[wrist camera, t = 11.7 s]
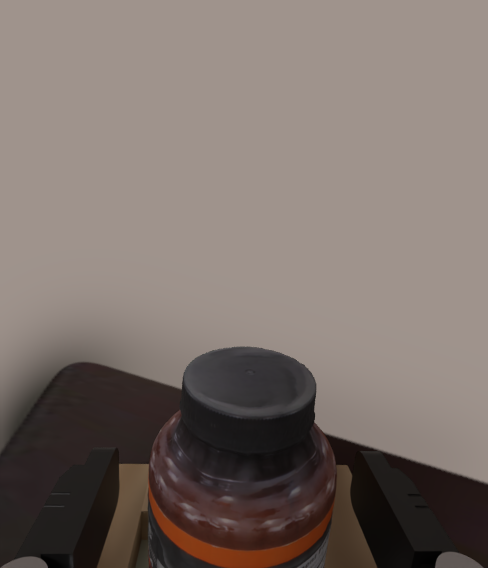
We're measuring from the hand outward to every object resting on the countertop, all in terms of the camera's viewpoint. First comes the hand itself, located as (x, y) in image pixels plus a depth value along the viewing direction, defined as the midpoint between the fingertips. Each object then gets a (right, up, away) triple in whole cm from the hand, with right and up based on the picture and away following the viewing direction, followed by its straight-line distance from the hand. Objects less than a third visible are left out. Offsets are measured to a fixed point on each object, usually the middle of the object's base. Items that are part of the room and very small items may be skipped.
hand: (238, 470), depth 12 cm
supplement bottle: (0, -7, +2) cm, 8 cm away
